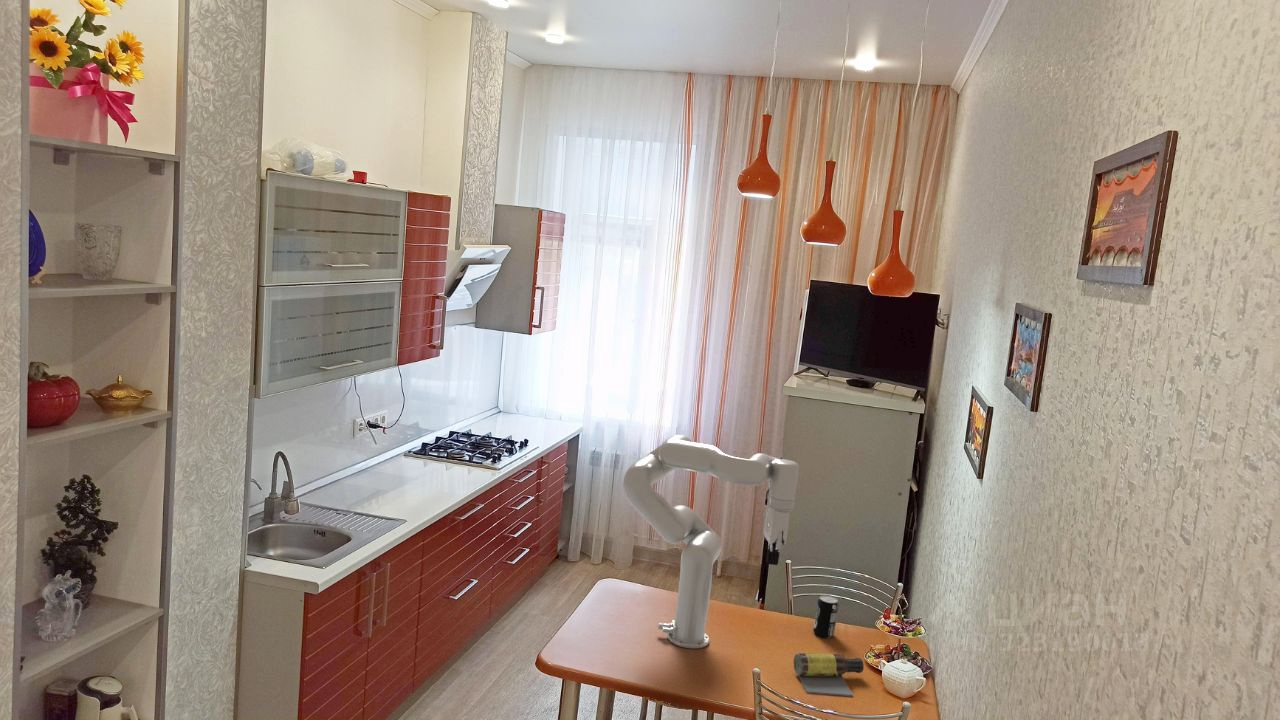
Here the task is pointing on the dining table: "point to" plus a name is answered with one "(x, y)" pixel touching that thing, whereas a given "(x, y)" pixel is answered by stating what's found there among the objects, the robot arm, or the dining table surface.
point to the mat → (826, 685)
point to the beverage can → (826, 616)
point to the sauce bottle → (825, 664)
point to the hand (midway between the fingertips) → (771, 563)
